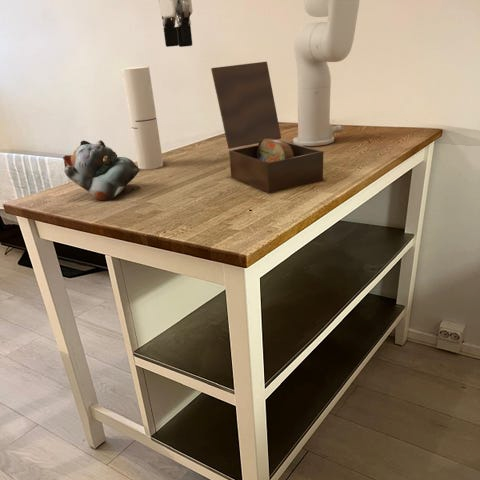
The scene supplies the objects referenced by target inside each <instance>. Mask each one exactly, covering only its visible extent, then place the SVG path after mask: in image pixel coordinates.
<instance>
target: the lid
mask: <svg viewBox="0 0 480 480" xmlns="http://www.w3.org/2000/svg"><path fill="white" fill-rule="evenodd" d="M210 71H211V74H212V79H213V84H214V89H215V93H216V99H217V103H218V107H219V112H220V117H221V121H222V126H223V130H224V134H225V135H224V136H225V140H226V145H227V150H230V149H231V150H232V149H235V148H236V149H237V148H242V147H247V146H253V145H258V144H259V142H260V141H261V140H262V139H275V140H282V134H281V129H280V124H279V118H278V112H277V108H276V107H277V106H276V102H275V97H274V92H273V86H272V81H271V76H270V71H269V65H268V61H260V62H259V61H257V62H252V63H251V62H250V63H243V64H235V65H226V66H218V67H217V66H216V67H211V68H210Z"/></svg>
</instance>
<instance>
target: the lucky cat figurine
mask: <svg viewBox="0 0 480 480" xmlns="http://www.w3.org/2000/svg"><path fill="white" fill-rule="evenodd" d="M62 159H63V164H64V169H63V172H64V174H65V176H66V177H67V178H68V179H69V180H70V181H72V182H73V183H75V184H76V185H77V186H78V187H80V188H82V189H84V190H85V191H87V192H88V193H90V194H91V195H92V197H93V198H94V199H95V200H98V201H100V202H101V201H112V200H113V199H114V198H115V197H116V196H118V195H119V194H120V193H121V192H122V191H123V190H124V189H125V188H126V186H127V185H128V184H130V182H131V181H132V180H134V179H135V177H136V176H137V175H138V173H140V171H141V169H139V168H138V165H137V164H136V163H135V162H134V161H133V160H132V159H131V158H128V157H126V156H120V157H119V156H118V153H116V151H114V150H113V148H111V147H109V146H107V145H106V144H105V142H104V141H103V140H102V139H100V140H99V139H98V140H97V141H96V142H95V143H92V142H89V141H87V140H81V141H80V143H79V145H78V146H77V147H76V149H75V150H74V151H73V153H72V154H70V155H69V154H68V155H67V154H65V155H63V156H62Z"/></svg>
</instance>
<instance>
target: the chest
mask: <svg viewBox="0 0 480 480" xmlns="http://www.w3.org/2000/svg"><path fill="white" fill-rule="evenodd" d="M279 141H281V142H284V143H287V144H288V145H289V146H290V147H291V149H292V151H293V156H294V157H292V158H288V159H283V160H278V161H274V162H269V163H268V162H265V161H262V160H259V159H257V149H258V144H254V145H249V146H244V147H239V148H236V149H235V148H234V149H231V150H230V149H228V154H229V155H228V156H229V166H230V178H232V179H234V180H236V181H238V182H241V183H243V184H245V185H248V186H250V187H253V188H255V189H257V190H260V191H263V192H265V193H266V194H271V193H276V192H281V191H284V190H289V189H292V188H296V187H300V186H305V185H309V184H313V183H317V182H321V181H324V153H325V152H324V150H320V149H316V148H312V147H309V146H300V145H297V144H294V143H293V142H289V141H285V140H282V139H279Z"/></svg>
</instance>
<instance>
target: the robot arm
mask: <svg viewBox="0 0 480 480" xmlns="http://www.w3.org/2000/svg"><path fill="white" fill-rule="evenodd" d="M158 5H159V12H160V15H161V20H162V27H163V35H164V43H165V47H167V48H170V47H180V48H183V47H193V38H192V37H193V36H192V27H191V25H192V21H191V19H190V18H191V15H192V14H193V3H192V0H158ZM303 6H304V10H305V12H306V13H307V14H308V15H309V16H311V17H314V18H327V21H317V22H310V23H306V24H304V25H303V26H301V27H300V28H299V29H298V31H296V34H295V36H294V40H293V51H294V57H295V63H296V70H297V72H296V73H297V136H295V137H293V140H292V143H293V144H297V145H300V146H304V147H319V146H320V147H321V146H325V145H330V144H332V143H334V142H335V136H334V135H333V134H334V133H340V132H342V130H343V126H342V125H341V124H338V125H334V126H333V124H330V118H331V86H332V85H331V84H332V83H331V82H332V81H331V80H332V79H331V78H332V77H331V72H330V68H329V64H328V63H339V62H342V61H344V60H345V59H346V58H347V57H348V56H349V54H350V52H351V51H352V48H353V44H354V40H355V34H356V33H355V32H356V27H357V20H358V13H359V7H360V0H303ZM176 24H177V26H176Z"/></svg>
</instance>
